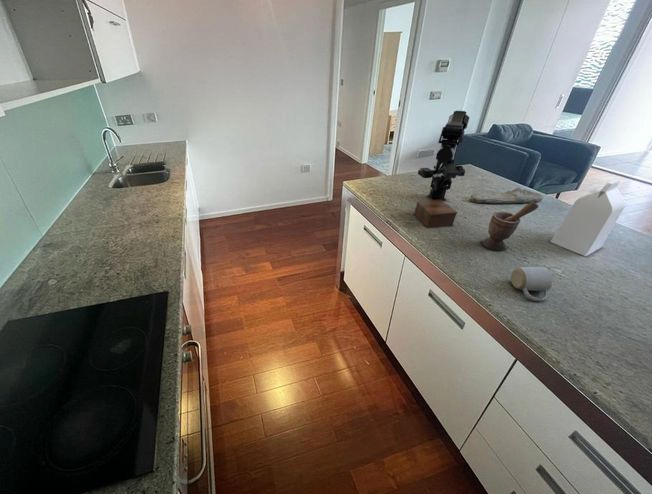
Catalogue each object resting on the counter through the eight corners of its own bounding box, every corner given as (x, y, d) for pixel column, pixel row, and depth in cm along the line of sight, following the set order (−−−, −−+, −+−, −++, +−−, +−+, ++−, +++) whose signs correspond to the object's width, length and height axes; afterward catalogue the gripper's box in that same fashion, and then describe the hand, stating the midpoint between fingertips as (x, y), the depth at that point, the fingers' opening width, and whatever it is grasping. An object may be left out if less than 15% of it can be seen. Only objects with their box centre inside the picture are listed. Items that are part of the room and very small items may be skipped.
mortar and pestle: (506, 240, 119) (527, 194, 108) (519, 252, 112) (543, 205, 101) (477, 240, 120) (495, 194, 109) (488, 252, 112) (508, 205, 101)
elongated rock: (464, 199, 155) (474, 208, 147) (467, 190, 152) (477, 199, 144) (533, 194, 153) (546, 203, 145) (537, 185, 150) (551, 194, 142)
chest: (452, 225, 130) (456, 213, 126) (427, 227, 129) (431, 215, 126) (437, 212, 141) (440, 200, 137) (414, 214, 140) (417, 202, 136)
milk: (585, 256, 109) (628, 190, 95) (550, 241, 117) (584, 179, 103) (601, 247, 113) (643, 183, 99) (565, 234, 122) (600, 173, 108)
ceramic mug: (505, 279, 99) (515, 261, 95) (532, 280, 98) (542, 262, 94) (523, 302, 90) (534, 283, 86) (552, 303, 89) (565, 284, 85)
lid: (457, 213, 126) (457, 212, 126) (431, 215, 125) (432, 214, 125) (440, 200, 137) (440, 199, 137) (417, 202, 136) (417, 200, 136)
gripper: (434, 162, 118) (425, 198, 126) (478, 160, 119) (466, 196, 127) (421, 154, 127) (413, 188, 135) (462, 152, 128) (452, 186, 137)
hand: (436, 190), depth 133 cm, fingers closed
